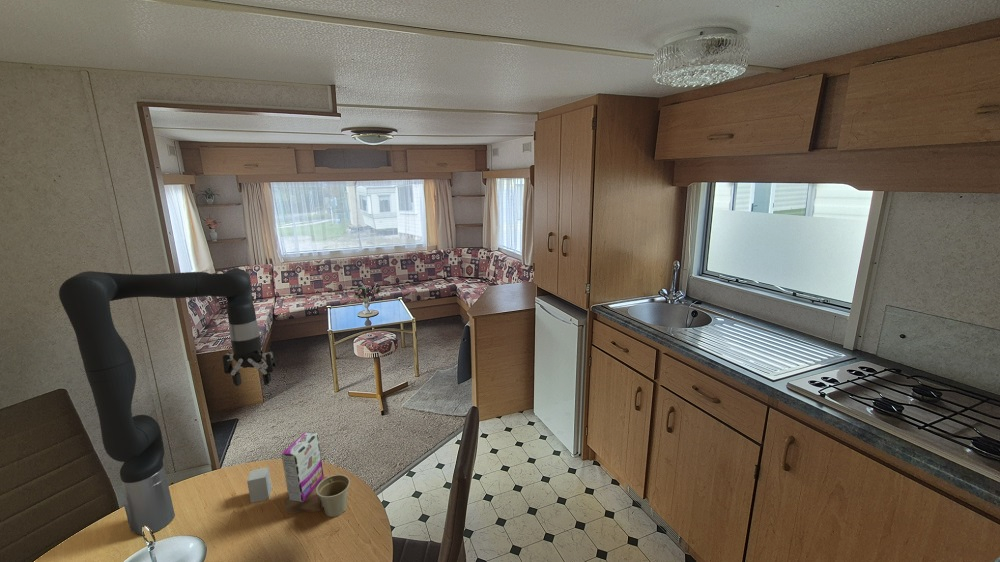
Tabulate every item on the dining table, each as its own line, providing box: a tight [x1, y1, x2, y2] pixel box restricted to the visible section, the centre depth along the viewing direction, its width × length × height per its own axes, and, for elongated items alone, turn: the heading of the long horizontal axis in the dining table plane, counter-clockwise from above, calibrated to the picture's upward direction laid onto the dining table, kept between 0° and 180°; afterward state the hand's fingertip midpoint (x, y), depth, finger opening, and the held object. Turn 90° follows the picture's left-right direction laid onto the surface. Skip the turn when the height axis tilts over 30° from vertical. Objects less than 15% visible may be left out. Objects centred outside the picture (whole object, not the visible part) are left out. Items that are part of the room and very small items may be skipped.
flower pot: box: [316, 474, 351, 518], centre depth 125 cm, size 9×9×9 cm
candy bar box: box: [281, 431, 325, 502], centre depth 127 cm, size 11×5×16 cm, turn 170°
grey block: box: [246, 466, 273, 504], centre depth 131 cm, size 5×5×8 cm
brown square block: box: [284, 476, 328, 514], centre depth 130 cm, size 10×10×4 cm
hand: (253, 384), depth 128 cm, fingers open, 8 cm apart
